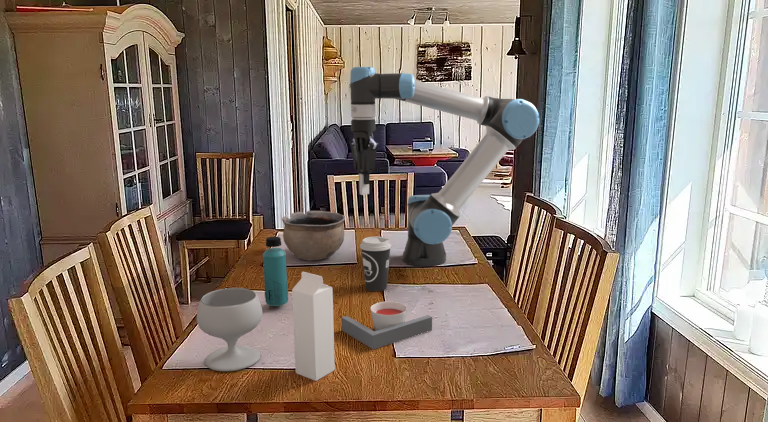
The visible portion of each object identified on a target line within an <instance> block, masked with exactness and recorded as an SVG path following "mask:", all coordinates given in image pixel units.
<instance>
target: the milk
mask: <svg viewBox="0 0 768 422" xmlns="http://www.w3.org/2000/svg"><path fill="white" fill-rule="evenodd" d="M323 279H324V278H323V276H322V275H318V274H313V273H310V272H307V271H301V279H299V281H298V282H297V283H296V284H295V285H294V287H293V288H292V289H291V292H292V293H291V294H292V318H293V337H294V339H293V340H294V342H293V343H294V361H295V362H294V365H295V374H297V375H300V376H302V377H304V378H307V379H308V380H309V379H310V380H312V381H315V382H317V381H319V380H320V379H322V378H324V377H326V376H327V375H329V374H330V373H332V372H334V371H335V368H336V367H335V339H334V338H335V331H334V330H335V329H334V328H335V327H334V304H333V303H334V299H333V297H334V296H333V286H330V285H327V284H326V283H324V281H323Z"/></svg>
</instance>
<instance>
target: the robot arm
mask: <svg viewBox="0 0 768 422" xmlns="http://www.w3.org/2000/svg"><path fill="white" fill-rule="evenodd" d="M349 79H350V80H349V85H350V87H349V89H350V115H351V116H350V117H351V118H352V119H351V121H350V128H351V129H350V130H351V132H354V134H353V139H350V140H349V142H348V143H349V145H350V149H351V156H352V162H353V169H354V171H355V172H357V174H358V183H359V187H358V189H359V190H358V191H359V195H361V196H363V195H369V194H370V179H371V178H370V175H371V173H374V172H375V166H376V159H377V150H378V148H379V146H380V145H379V144H380V143H379V142H376V141H375V140H374V135H373V134H374V133H373V132H375V131H376V129H377V128H376V127H377V126H376V124H377V123H376V119H374V118H376V99H378V100H380V99H386V100H387V99H389V100H392V99H393V100H397V101H401V102H406V103H410V104H414V105H417V106H420V107H425V108H428V109H433V110H436V111H439V112H444V113H446V114H451V115H455V116H458V117H462V118H465V119H470V120H473V121H476V123H477V124H478V125H480V126H484V127H485V129H486V133H485V134H484V136H483V137H482V138H481V140H480V141H479V142H478V143H477V145H476V146H475V147H474V148H473V150H472V151H471V152H470V153H469V155H468V156H467V157H466V158H465V160H463V162H462V163H461V164H460V166H459V167H458V168H457V169H456V171H455V172H454V173H453V175H451V176H450V177H449V179H448V180H447V182H446V183H445V184H444V185H443V186H442V188H441V189H440V190H439V191H438V192H435V193H431V194H416V195H411V196H409V197H408V198H407V241H406V243H405V248H404V251H403V253H402V260H403V261H404V262H405V263H406V264H408V265H413V266H421V267H429V266H430V267H431V266H438V265H442V264H444V263H445V262H446V261H447V253H446V250H445V246H444V242H445V241H446V240H447V239H448V238H449V237H450V235H451V233H452V230H453V226H454V225H455V224H456V222H457V220H458V219H459V218H460V217H461V215H460V214H461V213H460V210H461V208H462V207H463V206H464V204H465V203H466V202H467V201H468V200H469V198H471V196H473V194H474V193H475V191H476V190H477V189H478V187H479V186H480V185H481V184H482V183H483V181H484V180H485V179H486V178H487V177H488V176H489V175H490V173H491V172H492V171H493V170H494V168H495V167H496V166H497V164H498V163H499V162H500V161H501V159H503V157H504V156H505V155H506V153H508V152H509V151H512V150H516V148H518V147H519V145H520V144H521V143H522V141H524V140H527V138H530V137H532V136H533V135H534V134H535V133H536V131H537V130H538V127H539V125H540V114H539V111H538V109H537V108H536V106H535V105H534V104H533V103H532V102H530V101H528V100H525V99H523V98H497V97H492V96H488V95H486V96H484V97H480V96H476V95H472V94H468V93H465V92H461V91H457V90H454V89H449V88H446V87H442V86H438V85H435V84H431V83H428V82H427V83H426V82H423V81H420V80H416V79H415V76H414V75H413V74H412V73H405V72H400V73H398V72H397V73H396V72H395V73H378V72H377V73H376V68H375V67H373V66H355V67H352V68H351V69H350V78H349Z"/></svg>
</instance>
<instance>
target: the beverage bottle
mask: <svg viewBox="0 0 768 422" xmlns="http://www.w3.org/2000/svg"><path fill="white" fill-rule="evenodd" d="M265 246H266V247H267V249H266V250H265V251H264V252H263V253H262V260H263V278H264V279H263V281H264V291H263V292H264V298H265V304H266V305H267V306H270V307H271V306H272V307H273V306H274V307H278V306H279V307H280V306H283V305H286V304H287V303H288V302H289V291H288V290H289V286H288V284H289V283H288V274H287V259H286V258H287V257H286V256H287V253H286V251H285V250H283V248H280V247H281V246H282V239H281V237H280V236H268V237H266V239H265Z"/></svg>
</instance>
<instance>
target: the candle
mask: <svg viewBox="0 0 768 422" xmlns="http://www.w3.org/2000/svg"><path fill="white" fill-rule="evenodd" d="M407 311H408V308H407V305H406V304H404V303H401V302H399V301H392V300H391V301H380V302H377V303H374V304H372V305H371V306H370V313H371V314H370V315H371V318H372V323H373V328H374V331H378V330H381V329H384V328H388V327H391V326H394V325H397V324H401V323H404V322H406V316H407Z"/></svg>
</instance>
